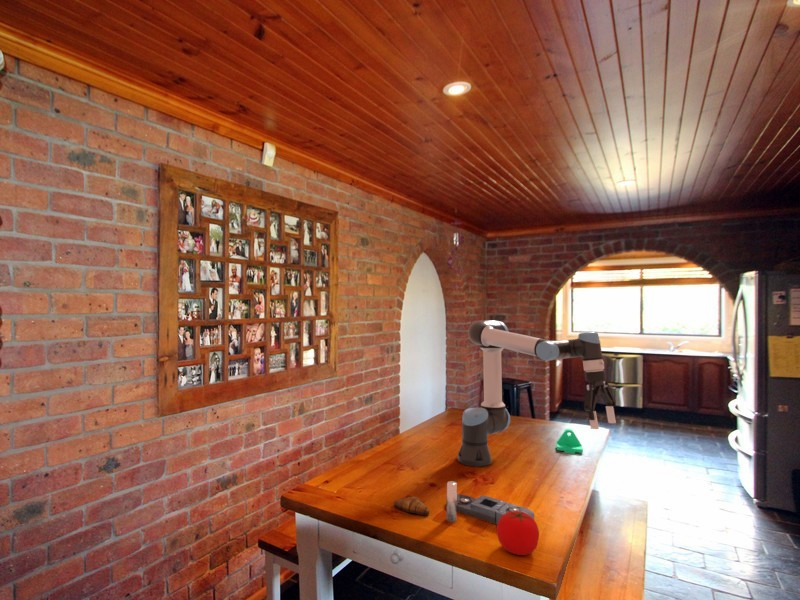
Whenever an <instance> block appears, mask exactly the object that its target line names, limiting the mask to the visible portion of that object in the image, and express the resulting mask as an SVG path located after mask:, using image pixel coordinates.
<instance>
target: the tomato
mask: <svg viewBox="0 0 800 600" xmlns="http://www.w3.org/2000/svg"><path fill="white" fill-rule="evenodd" d="M535 520H536V519H535V518H534V519H533V518H532V517H531V516H529V515H528V514H526V513H524V512H520V511H512V512H508V513H506V514H504V515H503V516H502V517H501V518H500V520H499V522H498V525H496V535H497V539H498V541H499V543H500V545H501V546H502V547H503V549H504V550H505V551H507V552H509V553H510V554H513V555H518V556H527V555H530V554H532V553H533V552H534V551H535V550H536V548H537V546H538V543H539V540H540V538H539V537H540V531H539V527H538V525H537V523H536V521H535Z"/></svg>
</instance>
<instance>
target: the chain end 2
mask: <svg viewBox="0 0 800 600" xmlns="http://www.w3.org/2000/svg"><path fill="white" fill-rule="evenodd" d="M485 505H488V506H492V507H488V506H485ZM470 510H472V511H475V512H478V513H481V514H484V515H487V516H490V517H493V518H496V524H495V525H496V526H497V525H498V522H499V520H500V518H501V517H502V516H503V515H504V514H506V513H508V512H512V511H520V512H524V513H526V514H528V515H529V516H531V517H532V518H533V519H534V520H535V512H534V511H532V510H531V509H528V508H526V507H524V506H519V505H517V504H513V503H510V502H507V501H503V500H500V499H497V498H493V497H490V496H487V495H483V494H482V495H481V496H479V497H478V498H476V500H475V501H474V502H472V503H471V504H470Z"/></svg>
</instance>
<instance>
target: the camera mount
mask: <svg viewBox="0 0 800 600" xmlns="http://www.w3.org/2000/svg"><path fill="white" fill-rule="evenodd" d="M569 433H570V434H569ZM555 444H556V450H557V451H564V453H565V454H573V455H574V454H576V453H580V454H581V453H583V452H584V448H583V445H582V443H581V442H580V440H579V439H578V437H577V435H576V433H575V432H574V430H573V429H571V428H566V429H565V430H564V431H563V433H562V434H561V436H560V437H559V438H558V439H557V441H556V442H555Z"/></svg>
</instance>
